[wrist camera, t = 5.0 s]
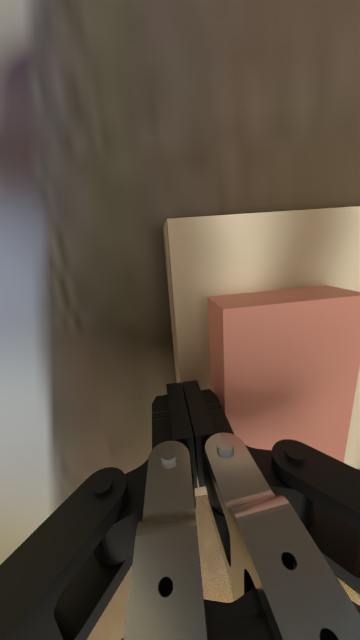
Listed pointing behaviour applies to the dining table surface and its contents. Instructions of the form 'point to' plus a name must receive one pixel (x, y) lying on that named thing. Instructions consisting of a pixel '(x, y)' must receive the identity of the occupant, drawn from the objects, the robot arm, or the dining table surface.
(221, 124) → the dining table surface
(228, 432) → the robot arm
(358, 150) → the dining table surface
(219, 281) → the board
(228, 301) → the tile
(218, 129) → the dining table surface
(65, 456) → the dining table surface
